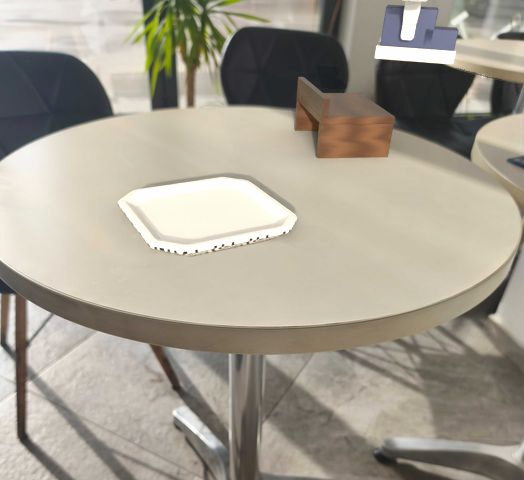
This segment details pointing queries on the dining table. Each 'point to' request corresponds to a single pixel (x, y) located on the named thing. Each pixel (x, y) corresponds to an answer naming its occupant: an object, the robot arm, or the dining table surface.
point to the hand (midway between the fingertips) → (407, 37)
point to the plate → (205, 215)
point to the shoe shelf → (343, 122)
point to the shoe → (416, 38)
